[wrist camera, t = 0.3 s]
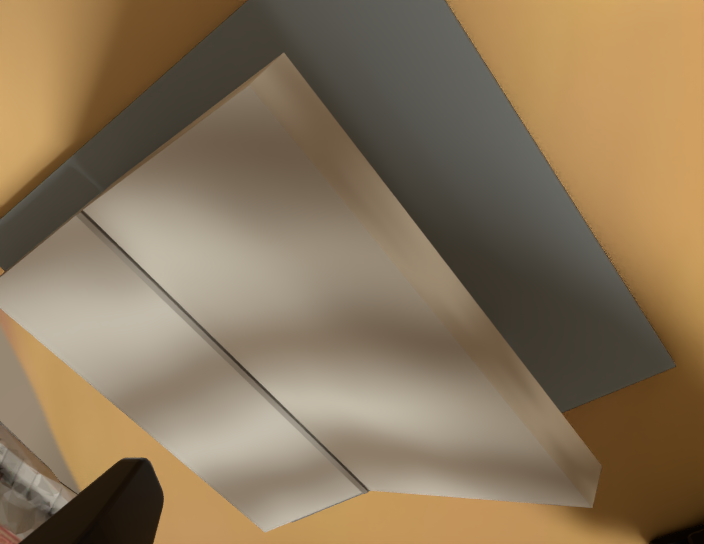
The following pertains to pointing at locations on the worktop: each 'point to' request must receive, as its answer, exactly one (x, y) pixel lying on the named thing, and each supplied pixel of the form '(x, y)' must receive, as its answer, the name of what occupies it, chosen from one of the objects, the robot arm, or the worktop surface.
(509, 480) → the loose plank
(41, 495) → the packaged product
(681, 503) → the worktop surface
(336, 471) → the grey flat block
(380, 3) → the underlay mat
